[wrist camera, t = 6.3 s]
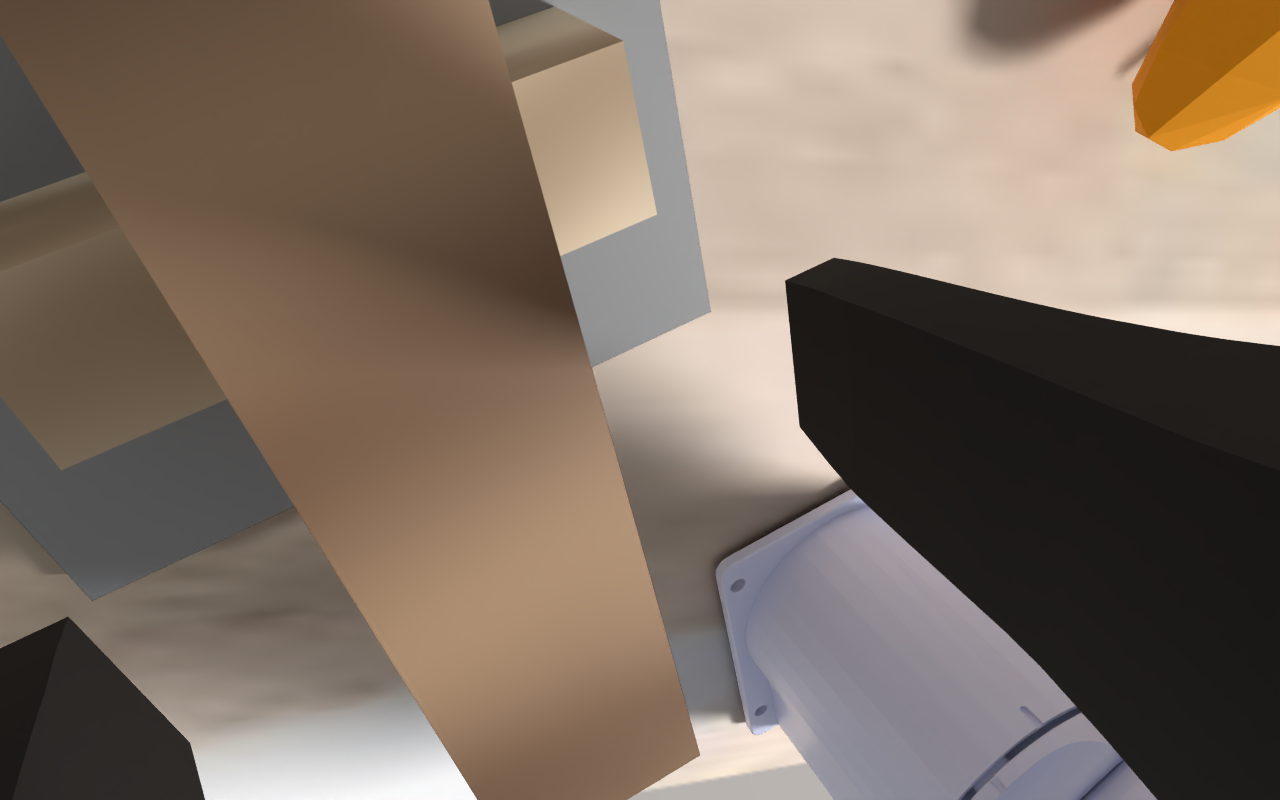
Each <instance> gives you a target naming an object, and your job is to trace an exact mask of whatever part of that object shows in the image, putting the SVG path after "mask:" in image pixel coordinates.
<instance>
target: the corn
mask: <svg viewBox="0 0 1280 800" xmlns="http://www.w3.org/2000/svg"><path fill="white" fill-rule="evenodd" d="M1132 90H1133V105H1134V118H1135V131H1136V132H1138V133H1140V134H1141V135H1143V136H1145V137H1147V138H1148V139H1150V140H1152V141H1154V142H1156V143H1157V144H1159V145H1161V146H1163V147H1165V148H1166V149H1168V150H1170V151H1175V150H1180V149H1184V148H1189V147H1194V146H1199V145H1203V144H1208V143H1213V142H1218V141H1222V140H1225V139H1227V138H1229V137H1230V136H1232V135H1234V134H1235V133H1237V132H1239V131H1241V130H1242V129H1244V128H1246V127H1248V126H1249V125H1251V124H1253V123H1254V122H1256V121H1258V120H1260V119H1261V118H1263V117H1265V116H1267V115H1268V114H1270V113H1272V112H1273V111H1275V110H1277V109H1279V108H1280V0H1174V2H1173V4H1172V6H1171V8H1170V10H1169V12H1168V14H1167V16H1166V18H1165V20H1164V22H1163V24H1162V26H1161V28H1160V30H1159V32H1158V34H1157V36H1156V38H1155V40H1154V42H1153V44H1152V46H1151V48H1150V50H1149V52H1148V54H1147V56H1146V58H1145V60H1144V62H1143V64H1142V66H1141V68H1140V69H1139V71H1138V73H1137V75H1136V77H1135V79H1134V81H1133V83H1132Z"/></svg>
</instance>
